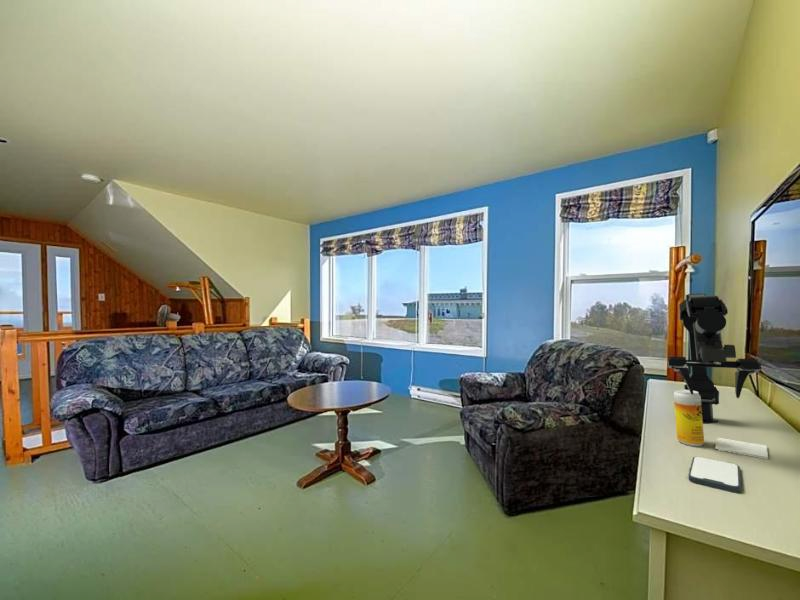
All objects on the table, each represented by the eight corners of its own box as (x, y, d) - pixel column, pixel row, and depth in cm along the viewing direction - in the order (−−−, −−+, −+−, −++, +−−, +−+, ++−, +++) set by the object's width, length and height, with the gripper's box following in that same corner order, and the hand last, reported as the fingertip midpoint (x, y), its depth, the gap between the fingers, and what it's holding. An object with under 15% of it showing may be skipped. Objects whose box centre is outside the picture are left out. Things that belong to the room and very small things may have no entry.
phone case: (693, 461, 90) (687, 483, 79) (692, 455, 90) (687, 475, 79) (740, 471, 84) (742, 496, 73) (740, 464, 84) (741, 488, 73)
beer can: (698, 448, 97) (694, 394, 97) (673, 442, 102) (669, 390, 103) (708, 444, 99) (704, 391, 100) (683, 438, 105) (679, 388, 106)
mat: (717, 439, 103) (717, 437, 103) (766, 447, 95) (766, 445, 95) (715, 449, 96) (715, 447, 96) (768, 459, 88) (767, 456, 88)
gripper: (667, 333, 96) (672, 391, 92) (761, 333, 85) (772, 398, 82) (665, 340, 105) (670, 393, 101) (751, 341, 94) (760, 400, 90)
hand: (714, 396), depth 93 cm, fingers open, 9 cm apart
